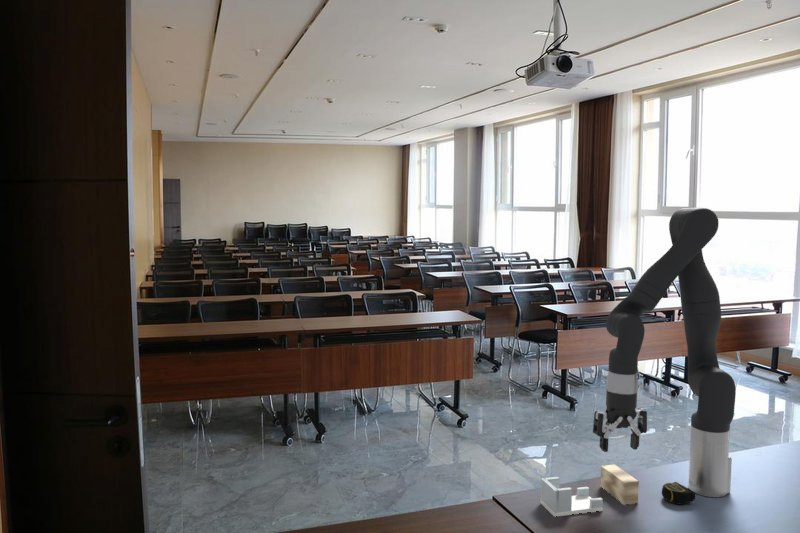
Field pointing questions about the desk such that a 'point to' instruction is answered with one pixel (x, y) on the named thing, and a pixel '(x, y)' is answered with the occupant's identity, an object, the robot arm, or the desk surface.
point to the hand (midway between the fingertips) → (619, 449)
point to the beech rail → (619, 484)
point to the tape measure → (677, 493)
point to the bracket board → (567, 499)
